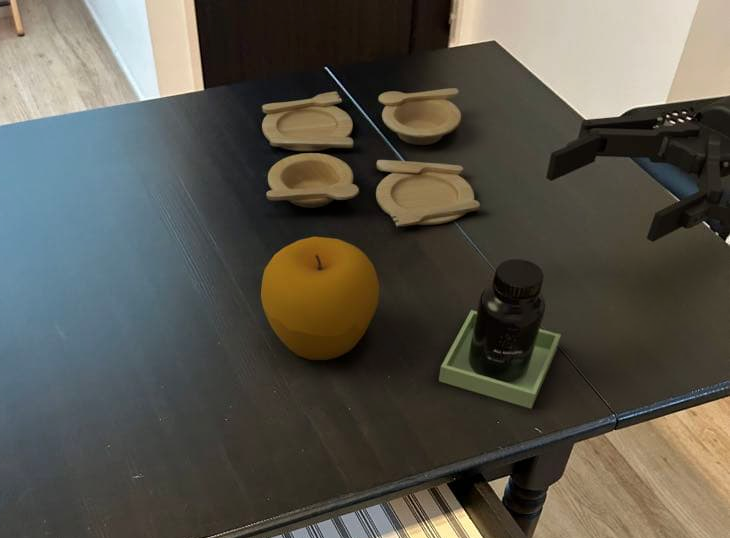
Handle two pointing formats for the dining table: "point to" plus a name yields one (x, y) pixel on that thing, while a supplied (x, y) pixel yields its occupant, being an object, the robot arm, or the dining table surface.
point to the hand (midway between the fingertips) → (600, 196)
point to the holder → (515, 391)
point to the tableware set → (396, 191)
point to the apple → (320, 296)
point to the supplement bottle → (508, 321)
